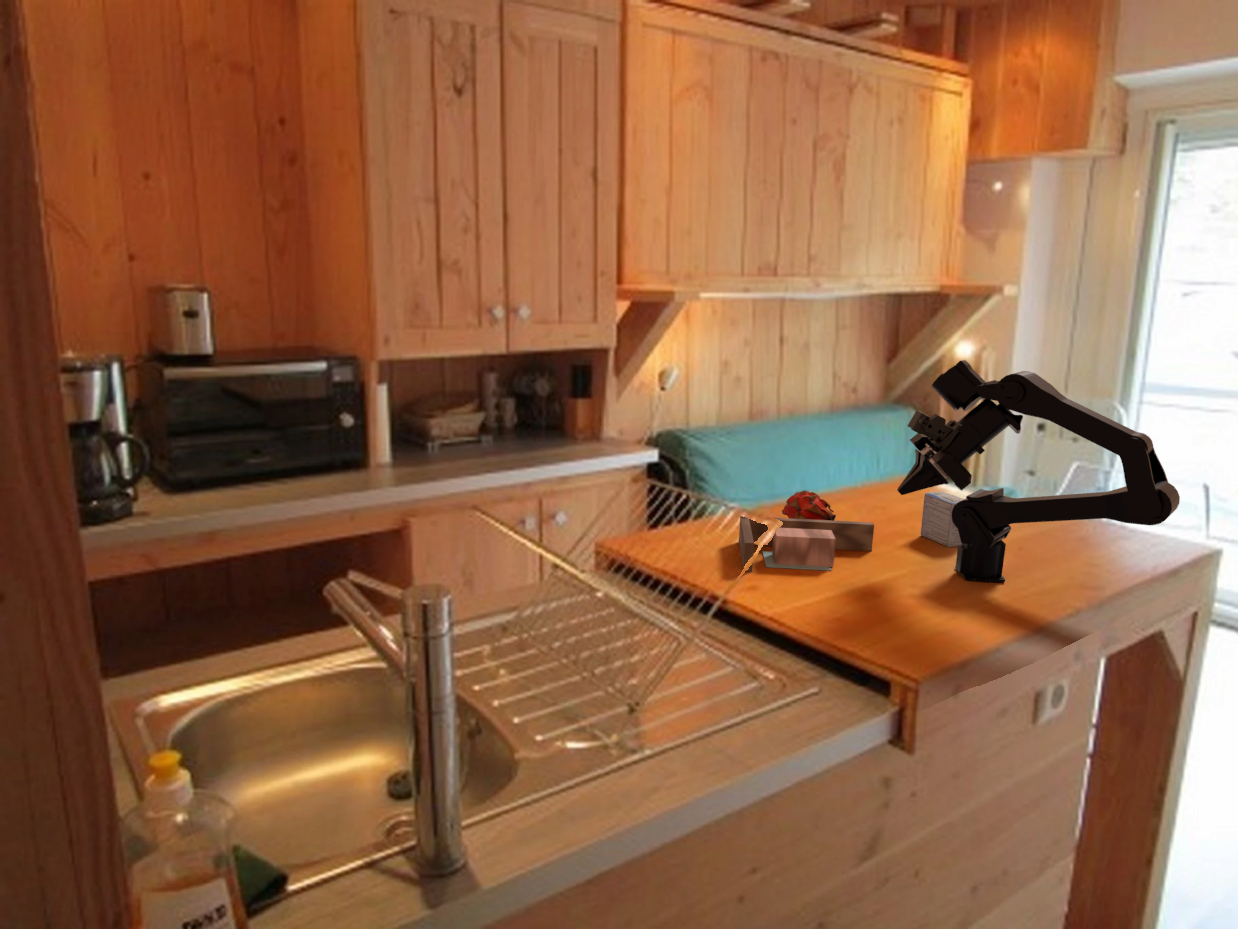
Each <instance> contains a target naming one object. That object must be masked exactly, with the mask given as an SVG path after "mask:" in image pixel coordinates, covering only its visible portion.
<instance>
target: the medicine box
mask: <svg viewBox="0 0 1238 929" xmlns="http://www.w3.org/2000/svg"><path fill="white" fill-rule="evenodd" d="M923 498H924V499H923V508H922V516H921V517H922V519H921V524H920V526H921V527H920V536H922V537H923V538H927V539H928V540H932V541H933V542H935V543H939V544H940V545H943V546H945V547H948V548H955V547H958V546H959V545H961V544H962V543H961V540H960V536H959V532H958V528H957V527H956V526H955V525H954V523H953V521H952V510H953V507H954V506H955V505H956V504H957V503H958V502H960V501H962V500H964V499H965V498H963V497H960V496H957V495H954V494H952V493H949V492H945V491H932V492H926V493H924V497H923Z"/></svg>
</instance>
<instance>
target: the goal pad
mask: <svg viewBox="0 0 1238 929" xmlns="http://www.w3.org/2000/svg"><path fill="white" fill-rule="evenodd" d="M762 556H763V560H764V565H765V568H771V569H772V568H774V569H794V570H811V571H812V570H813V571H828V572H829V571H832V568H831V567H828V566H809V565H790V564H775V563H774V559H773V556H772V551H768V550H767V551H766V550H765V551H764V550H763V551H762Z"/></svg>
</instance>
